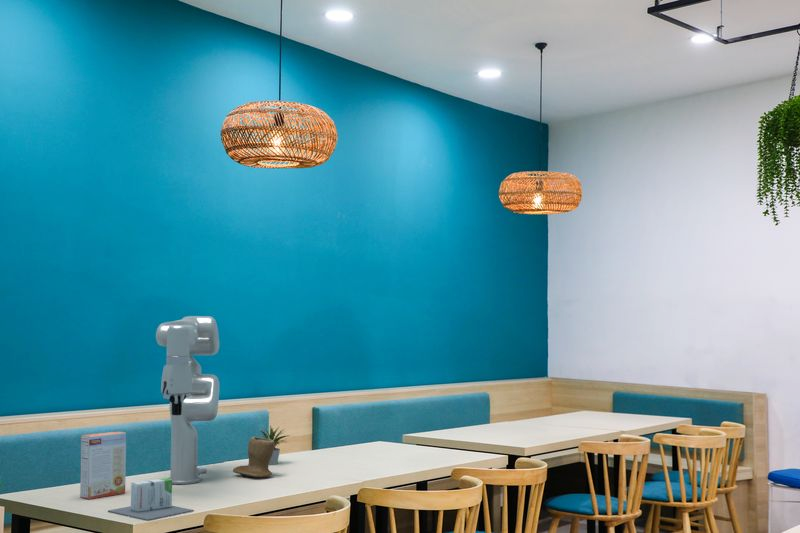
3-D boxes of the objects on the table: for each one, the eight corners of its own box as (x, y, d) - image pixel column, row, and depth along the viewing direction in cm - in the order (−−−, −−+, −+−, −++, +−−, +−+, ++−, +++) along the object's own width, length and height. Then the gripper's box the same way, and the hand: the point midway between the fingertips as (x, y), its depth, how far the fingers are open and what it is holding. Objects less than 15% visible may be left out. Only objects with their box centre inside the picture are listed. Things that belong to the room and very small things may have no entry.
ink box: (165, 477, 275) (130, 481, 267) (172, 479, 271) (137, 484, 264) (164, 504, 275) (129, 509, 267) (172, 507, 271) (136, 512, 263)
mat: (153, 503, 279) (153, 501, 279) (193, 511, 267) (193, 510, 267) (107, 511, 266) (107, 510, 266) (147, 520, 254) (147, 519, 254)
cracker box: (116, 491, 299) (117, 430, 300) (125, 493, 295) (127, 432, 296) (78, 497, 288) (80, 434, 290) (88, 499, 284) (90, 435, 286)
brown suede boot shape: (280, 476, 330) (281, 437, 331) (255, 480, 321) (256, 440, 322) (256, 472, 340) (257, 433, 341) (231, 475, 332) (232, 436, 333)
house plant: (272, 468, 349) (272, 427, 350) (246, 465, 356) (246, 425, 357) (294, 463, 361) (294, 424, 362) (268, 461, 368) (269, 422, 370)
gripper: (188, 360, 305) (187, 412, 303) (152, 361, 293) (151, 416, 291) (202, 361, 300) (200, 414, 299) (166, 362, 288) (165, 417, 287)
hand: (176, 414), depth 295 cm, fingers closed
